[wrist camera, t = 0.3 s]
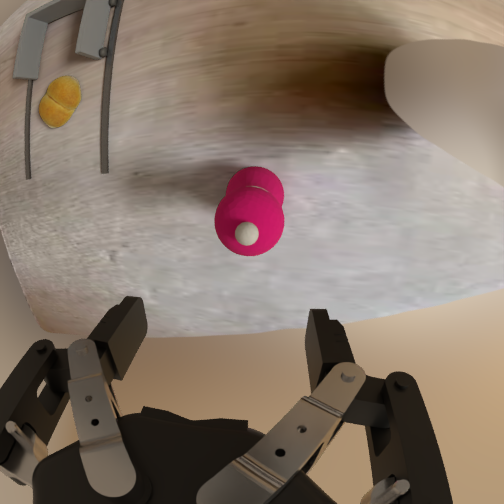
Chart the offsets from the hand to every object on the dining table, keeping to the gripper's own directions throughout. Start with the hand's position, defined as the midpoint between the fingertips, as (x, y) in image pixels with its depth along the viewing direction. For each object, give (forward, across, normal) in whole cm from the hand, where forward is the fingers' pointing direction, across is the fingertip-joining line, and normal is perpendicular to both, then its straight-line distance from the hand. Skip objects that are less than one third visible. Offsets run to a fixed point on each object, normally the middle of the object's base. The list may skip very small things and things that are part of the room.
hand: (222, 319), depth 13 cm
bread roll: (+29, +32, -17) cm, 47 cm away
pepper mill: (+29, 0, -1) cm, 29 cm away
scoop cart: (+29, +32, -29) cm, 52 cm away
